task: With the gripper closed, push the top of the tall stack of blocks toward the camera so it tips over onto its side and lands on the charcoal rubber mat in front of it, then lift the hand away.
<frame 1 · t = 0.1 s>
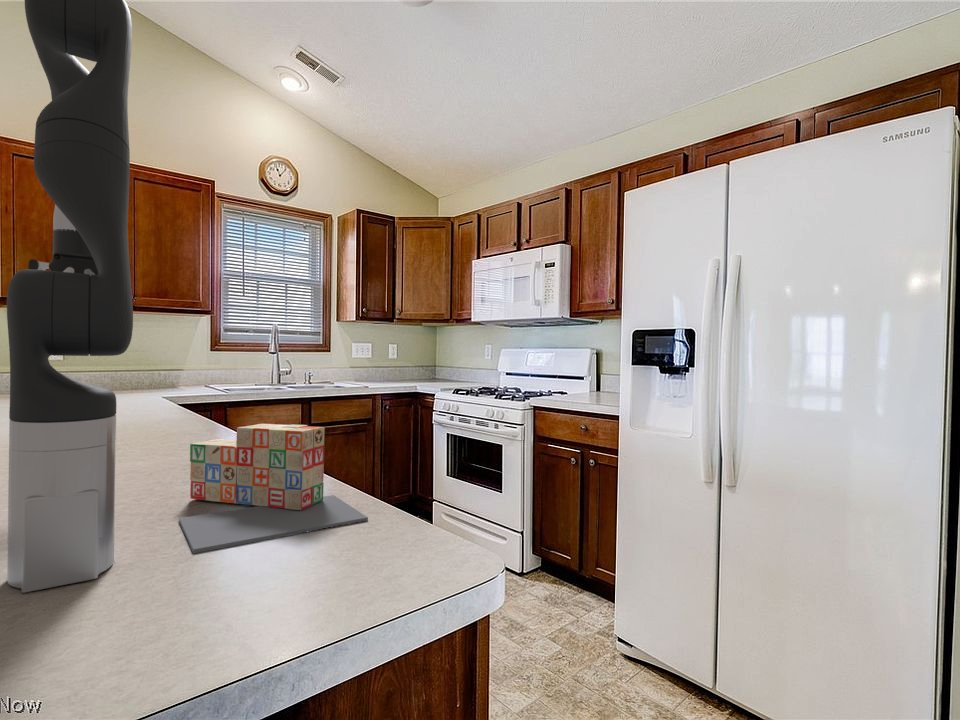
hand: (78, 322, 93), 29 cm above the counter, fingers open, 8 cm apart
stack of blocks: (256, 501, 84), on the counter, touching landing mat
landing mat: (275, 521, 76), on the counter
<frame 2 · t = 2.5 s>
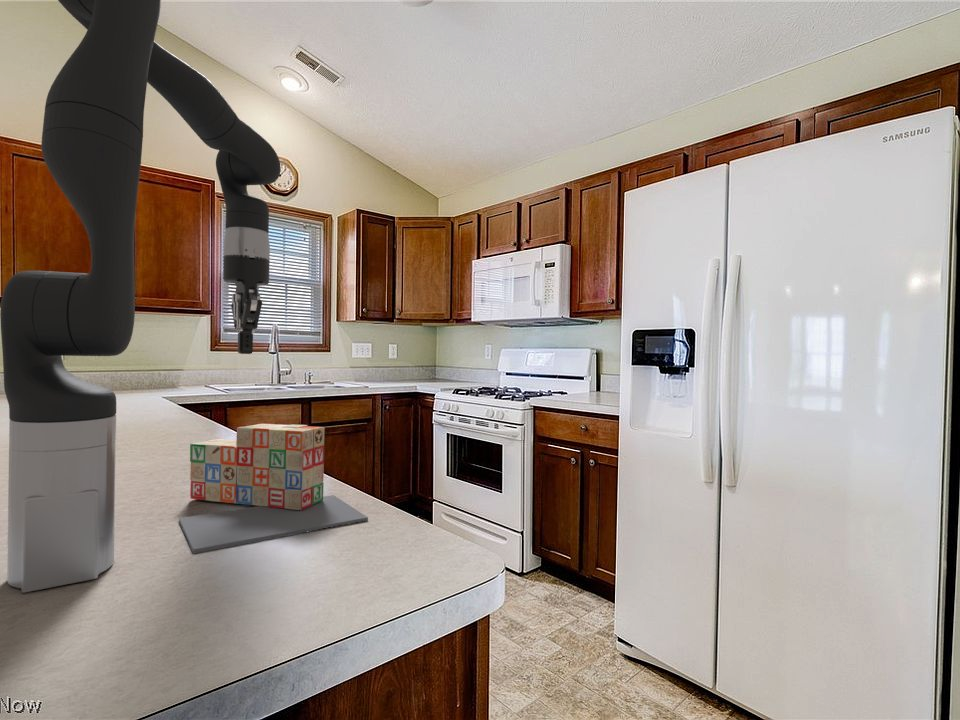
hand: (245, 353, 92), 24 cm above the counter, fingers closed
nothing on the counter moved.
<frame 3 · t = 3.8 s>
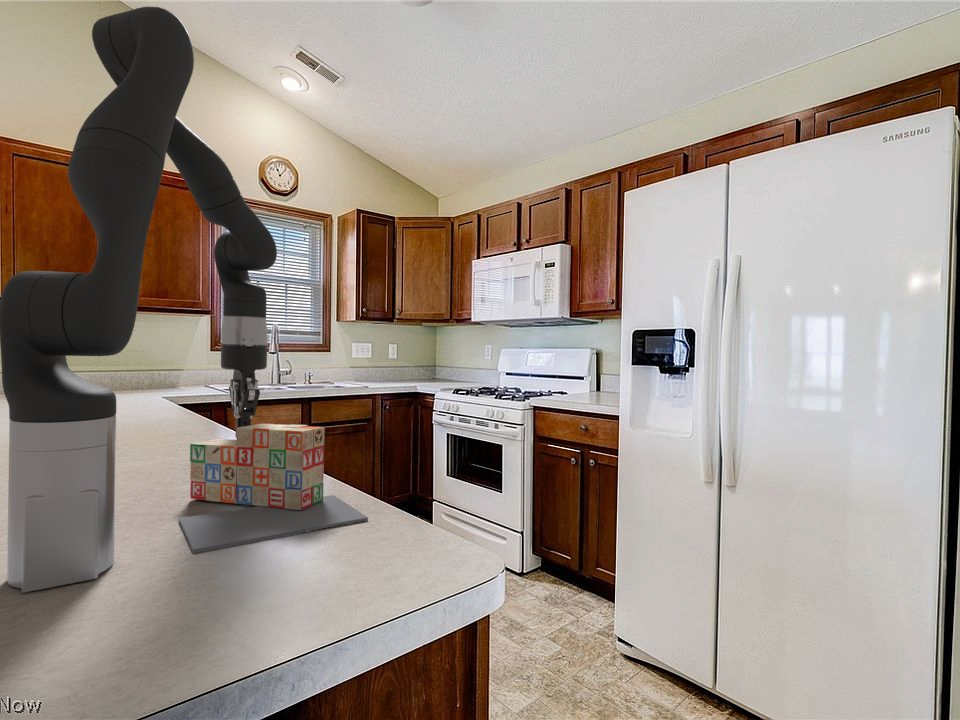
hand: (243, 438, 92), 9 cm above the counter, fingers closed
nothing on the counter moved.
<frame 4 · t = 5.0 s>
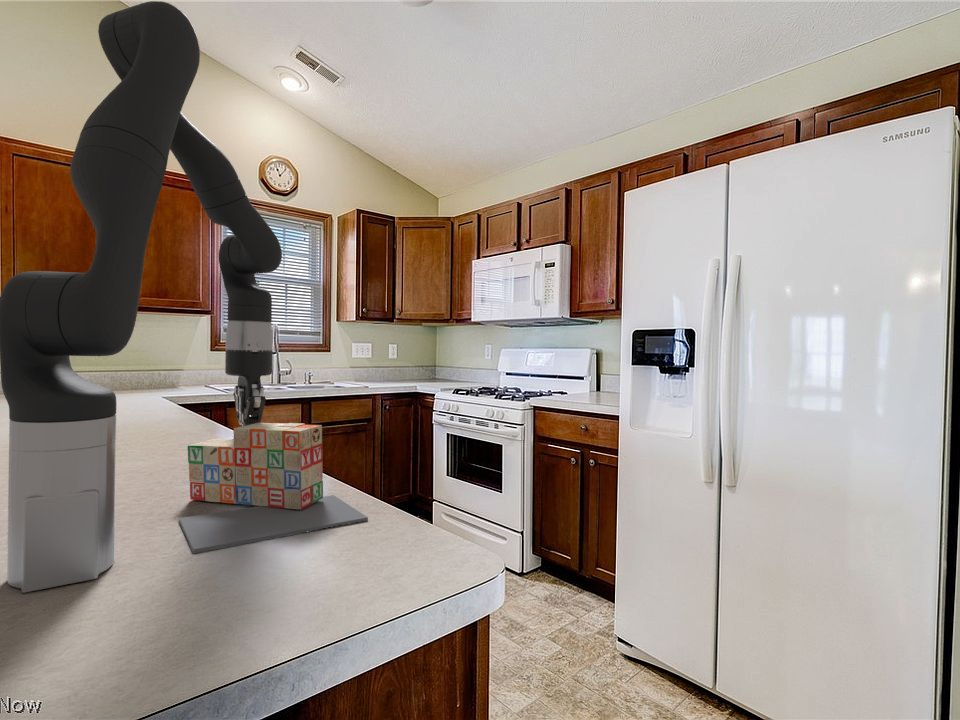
hand: (248, 446, 90), 8 cm above the counter, fingers closed
stack of blocks: (256, 500, 84), on the counter, touching gripper, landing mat
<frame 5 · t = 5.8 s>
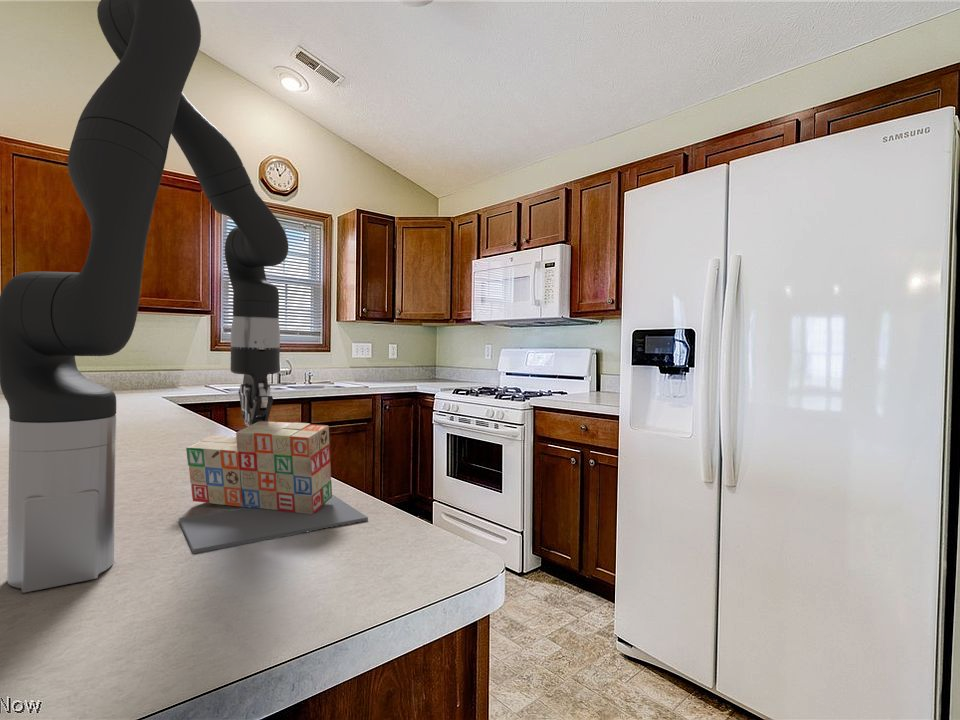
hand: (254, 447, 86), 9 cm above the counter, fingers closed
stack of blocks: (263, 501, 83), point 1 cm above the counter, touching gripper, hand
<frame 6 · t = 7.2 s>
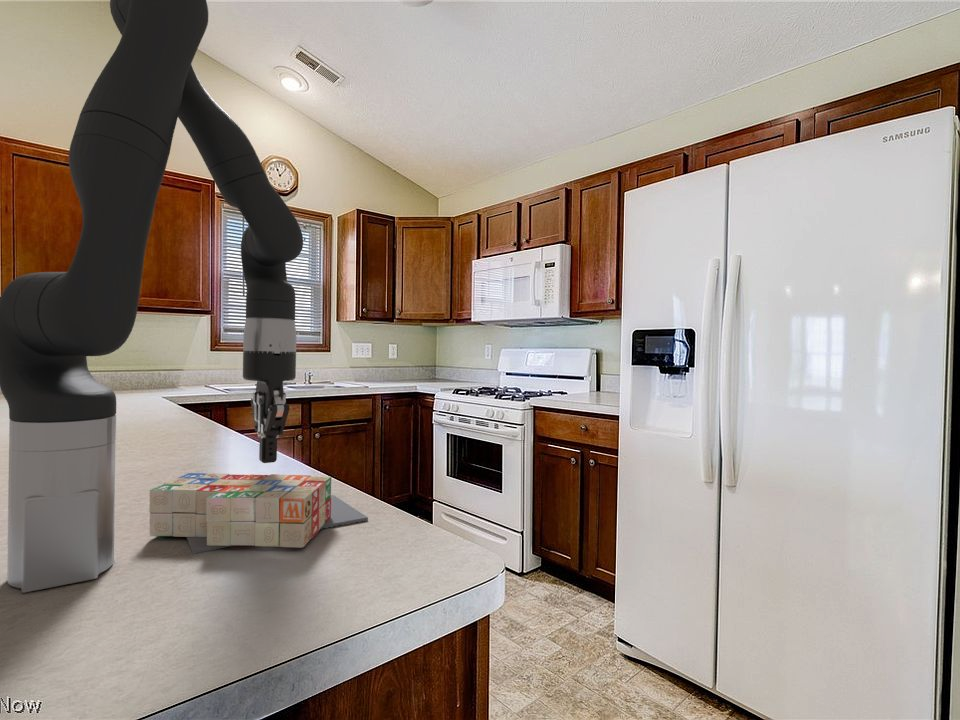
hand: (267, 461, 79), 8 cm above the counter, fingers closed
stack of blocks: (261, 494, 76), point 4 cm above the counter, touching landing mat
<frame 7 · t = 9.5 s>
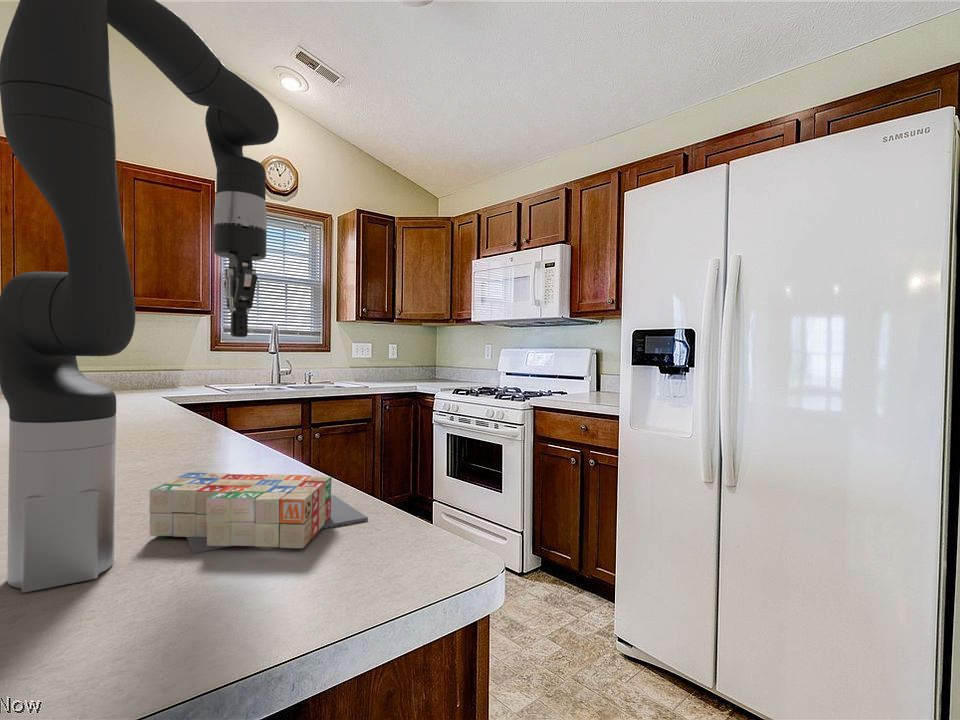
hand: (239, 336, 81), 27 cm above the counter, fingers closed
nothing on the counter moved.
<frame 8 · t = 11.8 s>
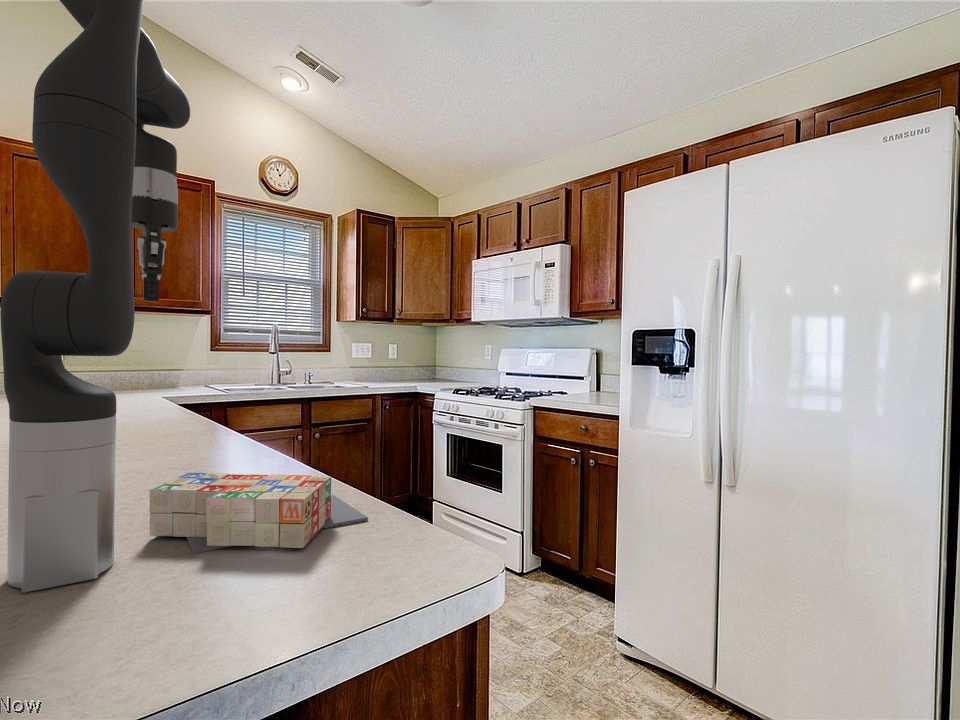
hand: (150, 301, 88), 33 cm above the counter, fingers closed
nothing on the counter moved.
at the end: stack of blocks tilted 90°; stack of blocks touching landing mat; stack of blocks inside the target area (4.9 cm from its centre), point 3.6 cm above the counter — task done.
